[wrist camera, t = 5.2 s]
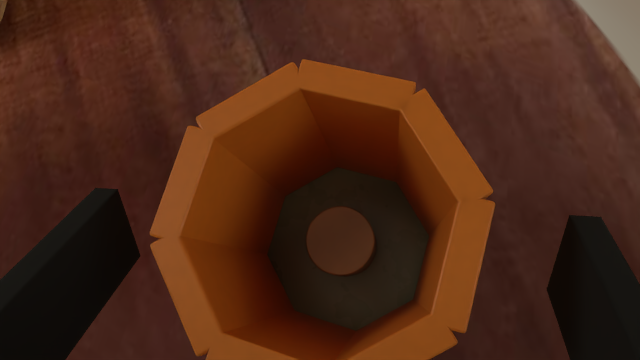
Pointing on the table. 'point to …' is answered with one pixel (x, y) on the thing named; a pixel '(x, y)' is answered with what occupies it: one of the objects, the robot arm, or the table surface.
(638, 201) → the table surface
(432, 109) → the orange octagonal tube
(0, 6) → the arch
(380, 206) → the stacking base
